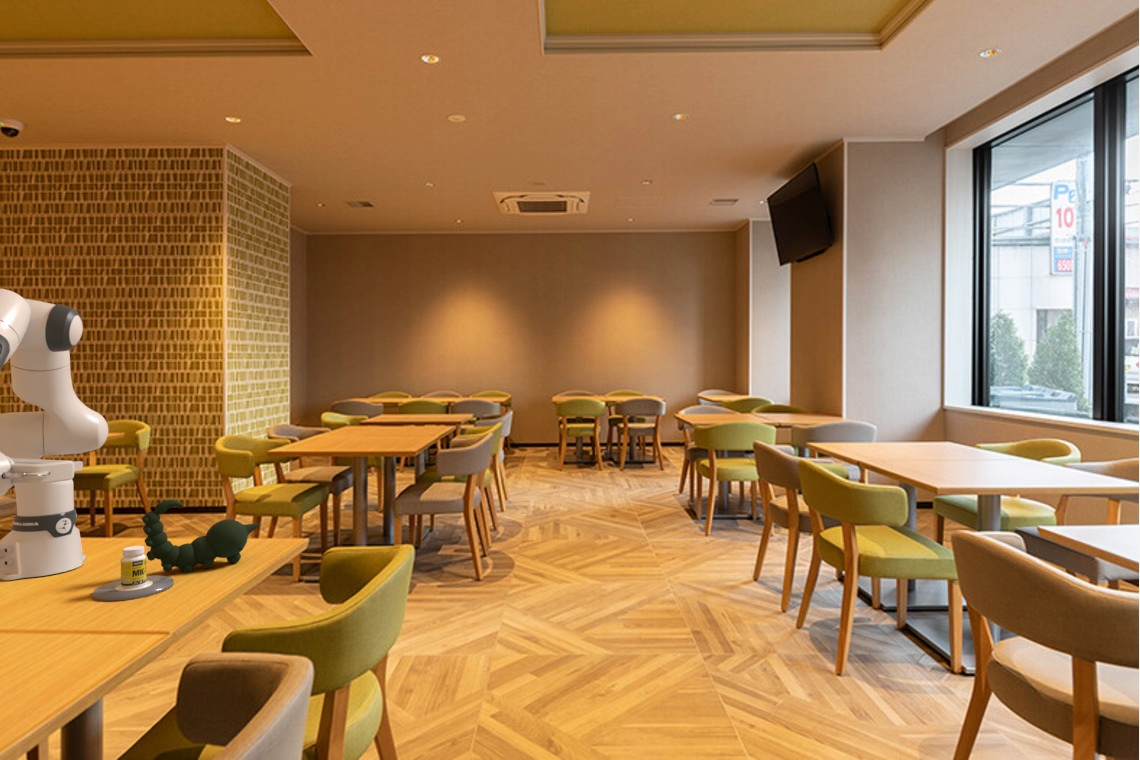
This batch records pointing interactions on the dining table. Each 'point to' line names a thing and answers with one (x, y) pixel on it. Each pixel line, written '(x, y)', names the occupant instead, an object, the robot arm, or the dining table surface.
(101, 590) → the charcoal plate
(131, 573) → the supplement bottle
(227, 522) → the toy figurine
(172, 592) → the dining table surface
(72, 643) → the dining table surface
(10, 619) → the dining table surface
